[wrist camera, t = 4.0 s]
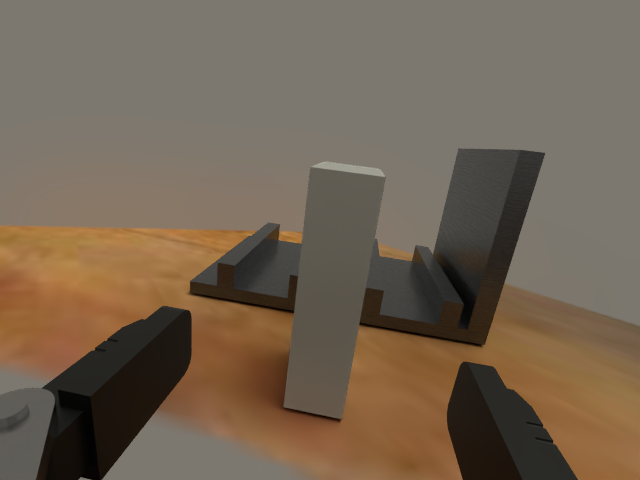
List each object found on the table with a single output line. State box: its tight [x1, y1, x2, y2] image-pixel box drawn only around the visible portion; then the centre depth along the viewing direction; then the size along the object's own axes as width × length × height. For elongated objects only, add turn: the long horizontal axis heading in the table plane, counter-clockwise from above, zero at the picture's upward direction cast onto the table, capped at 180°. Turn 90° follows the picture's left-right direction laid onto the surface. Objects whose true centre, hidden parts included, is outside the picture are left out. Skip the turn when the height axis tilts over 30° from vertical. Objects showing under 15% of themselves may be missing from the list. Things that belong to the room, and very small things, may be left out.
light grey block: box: [284, 162, 386, 419], centre depth 17 cm, size 3×5×12 cm, turn 172°
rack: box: [190, 149, 545, 345], centre depth 30 cm, size 23×15×14 cm, turn 82°
